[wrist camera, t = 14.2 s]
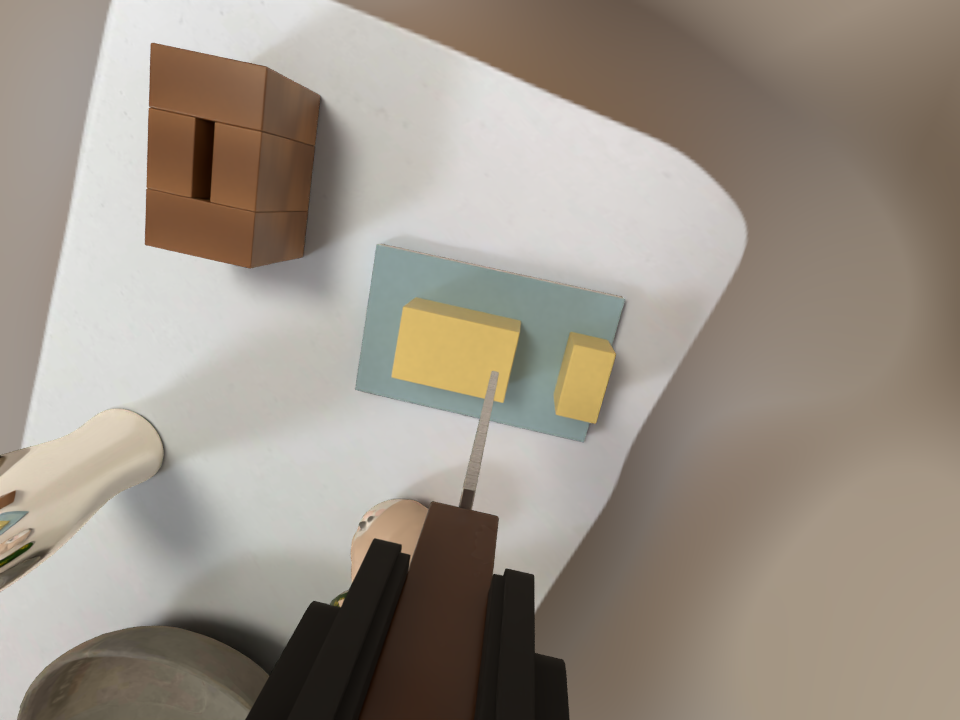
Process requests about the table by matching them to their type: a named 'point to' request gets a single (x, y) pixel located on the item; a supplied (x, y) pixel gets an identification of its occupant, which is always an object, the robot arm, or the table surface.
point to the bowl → (146, 679)
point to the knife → (440, 609)
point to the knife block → (227, 158)
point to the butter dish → (496, 292)
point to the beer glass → (69, 485)
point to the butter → (455, 348)
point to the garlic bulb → (388, 529)
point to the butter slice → (583, 377)
